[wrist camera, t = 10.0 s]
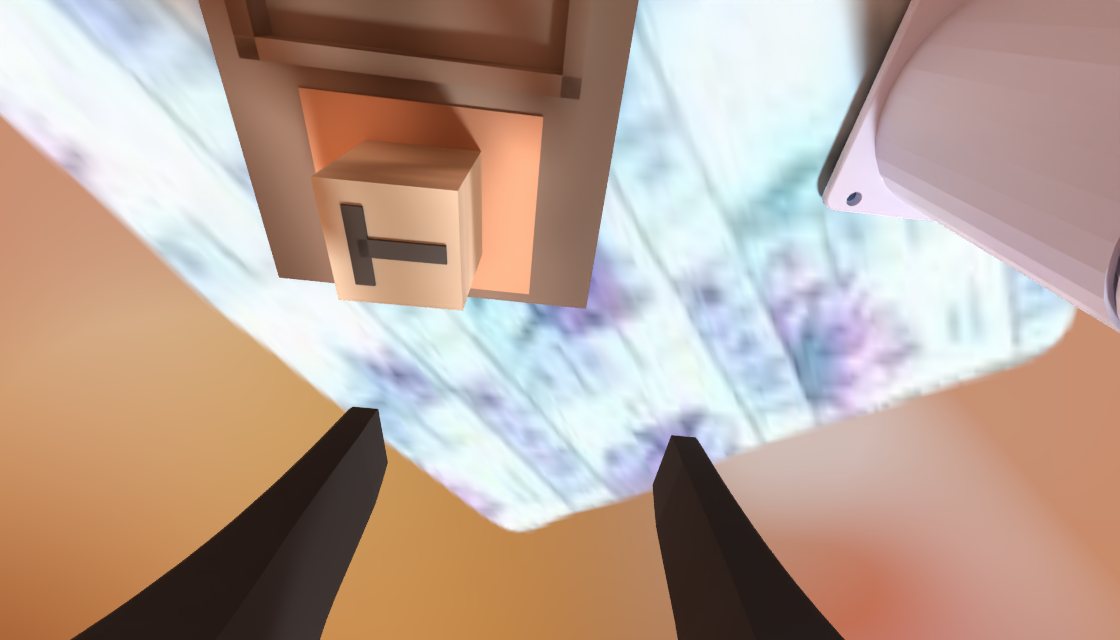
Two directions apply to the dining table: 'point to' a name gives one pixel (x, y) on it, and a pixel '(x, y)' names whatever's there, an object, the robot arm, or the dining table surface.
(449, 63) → the organiser
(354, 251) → the letter cube
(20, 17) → the dining table surface
